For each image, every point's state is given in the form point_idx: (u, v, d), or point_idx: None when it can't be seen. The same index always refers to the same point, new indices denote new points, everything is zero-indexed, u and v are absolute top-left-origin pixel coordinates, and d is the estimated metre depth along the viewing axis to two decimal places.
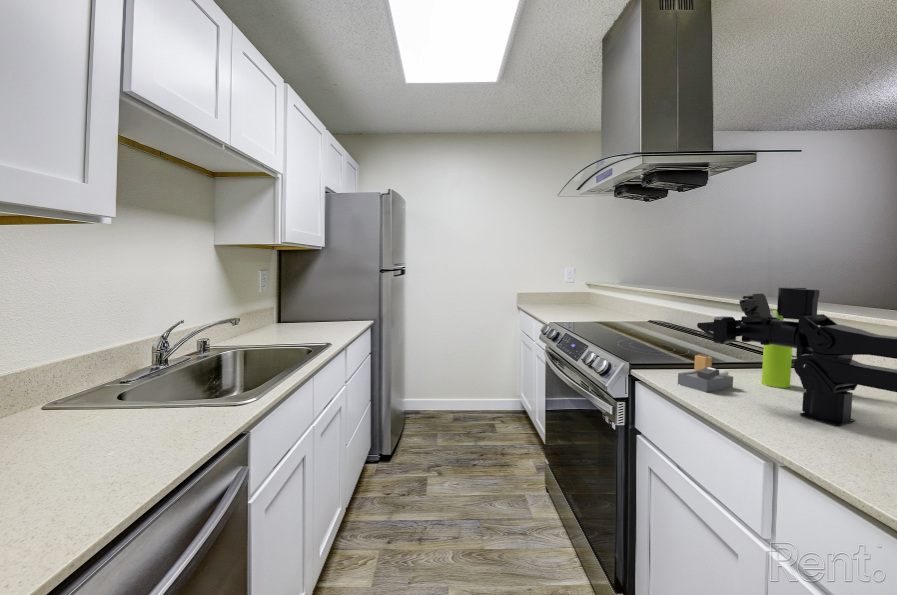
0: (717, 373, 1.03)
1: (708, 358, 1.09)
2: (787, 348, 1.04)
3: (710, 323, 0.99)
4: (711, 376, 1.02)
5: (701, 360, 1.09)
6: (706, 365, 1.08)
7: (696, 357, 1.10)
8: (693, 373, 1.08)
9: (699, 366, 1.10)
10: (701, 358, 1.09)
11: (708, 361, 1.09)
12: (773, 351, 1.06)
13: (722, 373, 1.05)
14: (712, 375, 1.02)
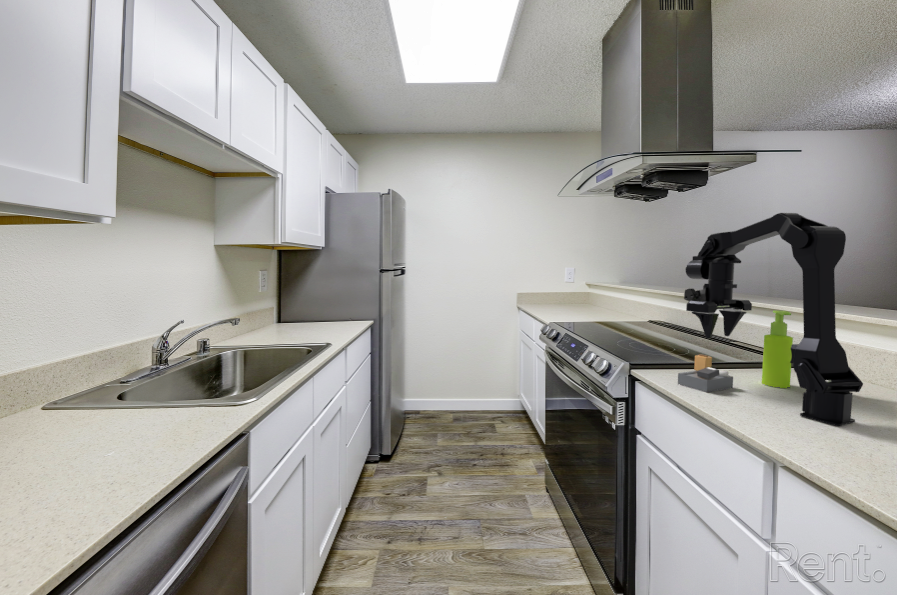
0: (717, 373, 1.03)
1: (708, 358, 1.09)
2: (787, 348, 1.04)
3: (702, 321, 1.10)
4: (711, 376, 1.02)
5: (701, 360, 1.09)
6: (706, 365, 1.08)
7: (696, 357, 1.10)
8: (693, 373, 1.08)
9: (699, 366, 1.10)
10: (701, 358, 1.09)
11: (708, 361, 1.09)
12: (773, 351, 1.06)
13: (722, 373, 1.05)
14: (712, 375, 1.02)
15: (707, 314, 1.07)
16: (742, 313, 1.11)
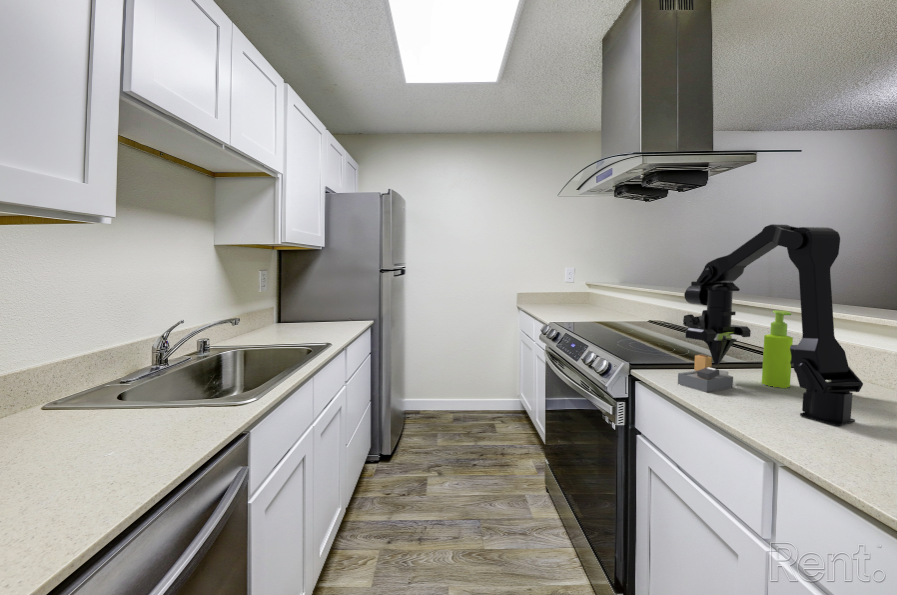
0: (717, 373, 1.03)
1: (708, 358, 1.09)
2: (787, 348, 1.04)
3: (710, 347, 1.12)
4: (711, 376, 1.02)
5: (701, 360, 1.09)
6: (706, 365, 1.08)
7: (696, 357, 1.10)
8: (693, 373, 1.08)
9: (699, 366, 1.10)
10: (701, 358, 1.09)
11: (708, 361, 1.09)
12: (773, 351, 1.06)
13: (722, 373, 1.05)
14: (712, 375, 1.02)
15: (715, 341, 1.09)
16: (732, 341, 1.10)
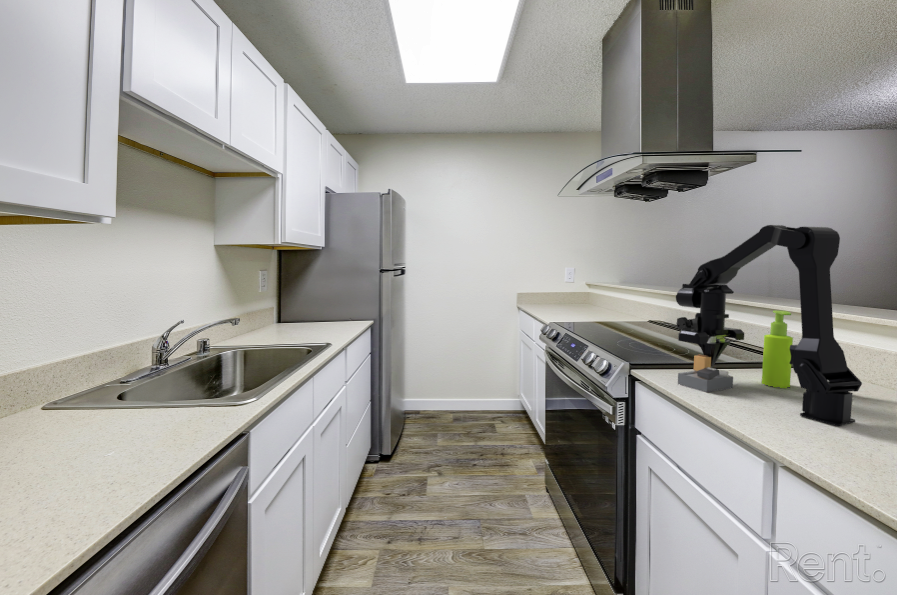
0: (717, 373, 1.03)
1: (707, 358, 1.09)
2: (787, 348, 1.04)
3: (703, 350, 1.11)
4: (711, 376, 1.02)
5: (701, 360, 1.09)
6: (705, 365, 1.08)
7: (695, 357, 1.10)
8: (693, 373, 1.08)
9: (698, 366, 1.10)
10: (700, 358, 1.09)
11: (707, 361, 1.09)
12: (773, 351, 1.06)
13: (722, 373, 1.05)
14: (712, 375, 1.02)
15: (708, 344, 1.08)
16: (725, 344, 1.09)
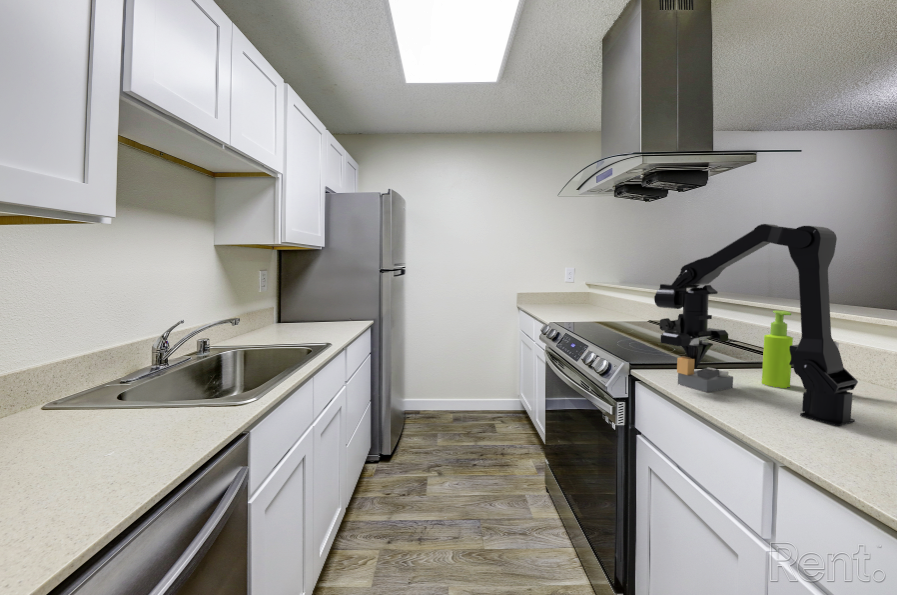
0: (717, 373, 1.03)
1: (691, 360, 1.06)
2: (787, 348, 1.04)
3: (687, 352, 1.09)
4: (711, 376, 1.02)
5: (684, 362, 1.07)
6: (689, 367, 1.06)
7: (679, 359, 1.08)
8: None
9: (681, 369, 1.07)
10: (684, 360, 1.07)
11: (691, 363, 1.06)
12: (773, 351, 1.06)
13: (722, 373, 1.05)
14: (712, 375, 1.02)
15: (691, 346, 1.05)
16: (708, 345, 1.06)
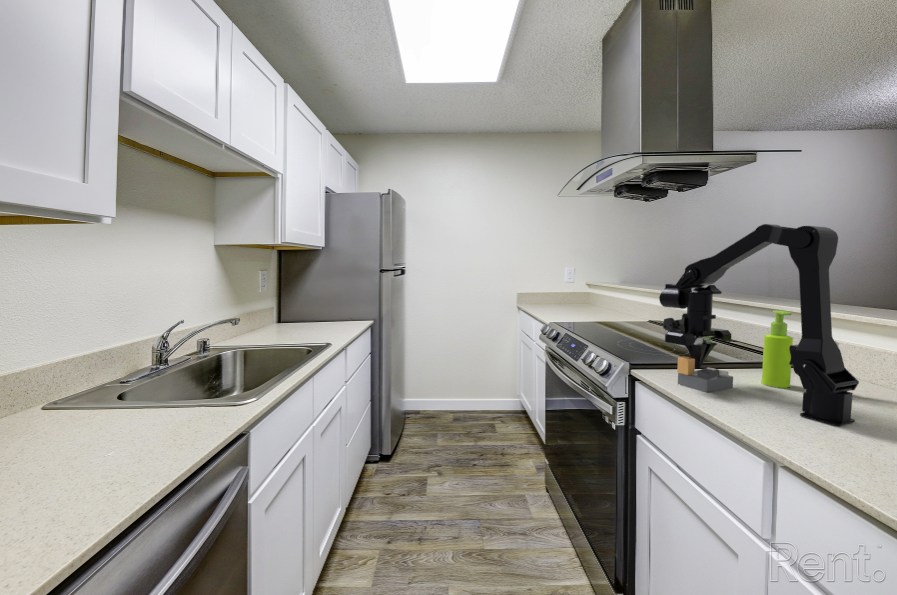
0: (717, 373, 1.03)
1: (691, 360, 1.06)
2: (787, 348, 1.04)
3: (690, 352, 1.09)
4: (711, 376, 1.02)
5: (684, 362, 1.07)
6: (689, 367, 1.06)
7: (679, 359, 1.08)
8: None
9: (682, 369, 1.07)
10: (684, 360, 1.07)
11: (691, 363, 1.06)
12: (773, 351, 1.06)
13: (722, 373, 1.05)
14: (712, 375, 1.02)
15: (695, 345, 1.06)
16: (712, 345, 1.07)
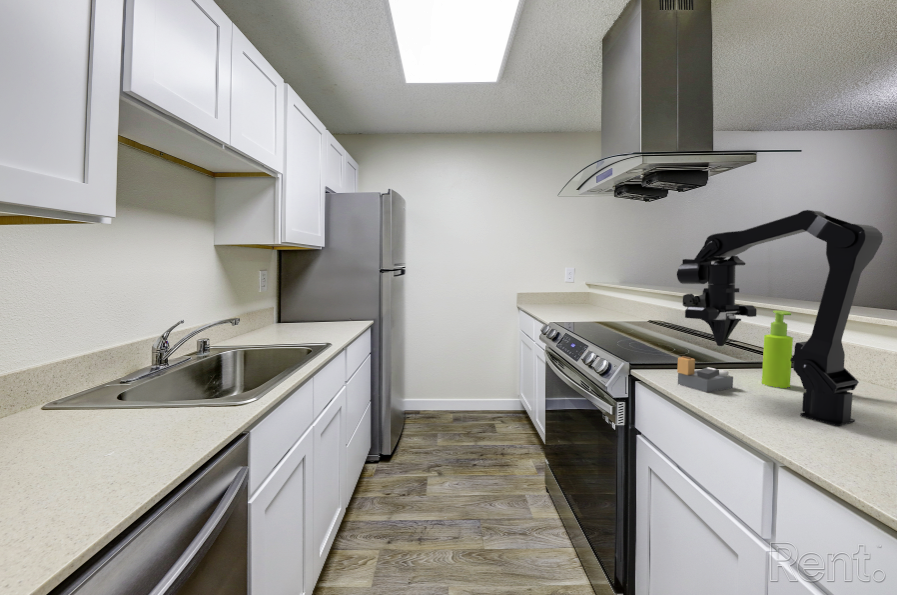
0: (717, 373, 1.03)
1: (691, 360, 1.06)
2: (787, 348, 1.04)
3: (712, 328, 1.03)
4: (711, 376, 1.02)
5: (684, 362, 1.07)
6: (689, 367, 1.06)
7: (679, 359, 1.08)
8: None
9: (682, 369, 1.07)
10: (684, 360, 1.07)
11: (691, 363, 1.06)
12: (773, 351, 1.06)
13: (722, 373, 1.05)
14: (712, 375, 1.02)
15: (718, 320, 0.99)
16: (736, 320, 1.00)
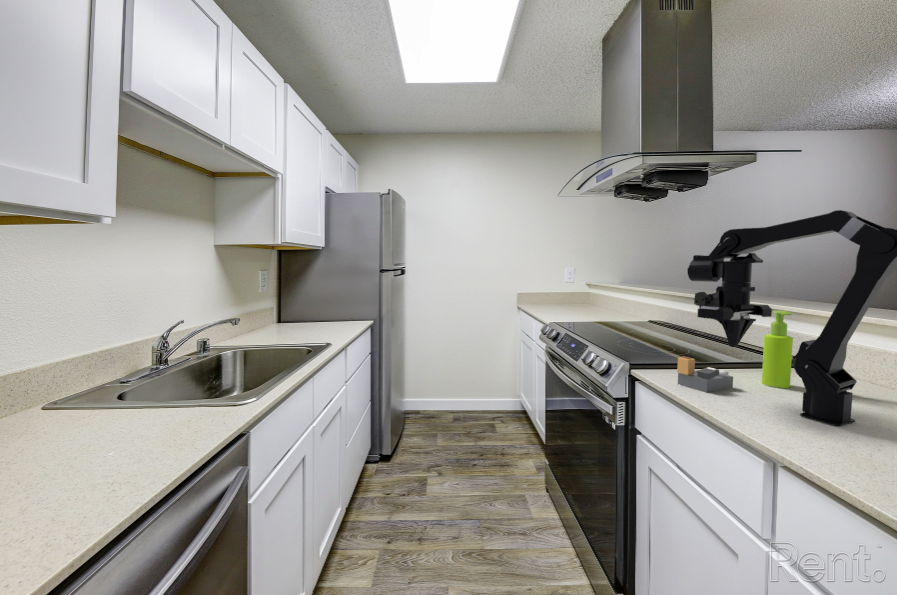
0: (717, 373, 1.03)
1: (691, 360, 1.06)
2: (787, 348, 1.04)
3: (725, 329, 0.98)
4: (711, 376, 1.02)
5: (684, 362, 1.07)
6: (689, 367, 1.06)
7: (679, 359, 1.08)
8: None
9: (682, 369, 1.07)
10: (684, 360, 1.07)
11: (691, 363, 1.06)
12: (773, 351, 1.06)
13: (722, 373, 1.05)
14: (712, 375, 1.02)
15: (732, 320, 0.95)
16: (751, 320, 0.96)
